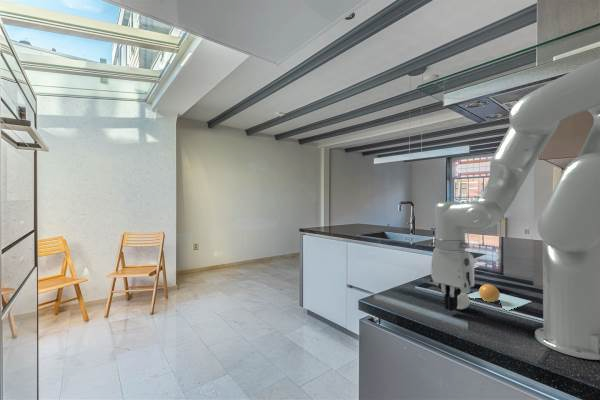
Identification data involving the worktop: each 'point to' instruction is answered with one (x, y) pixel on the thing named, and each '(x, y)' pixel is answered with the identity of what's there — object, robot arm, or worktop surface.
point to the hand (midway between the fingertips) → (450, 308)
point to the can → (472, 267)
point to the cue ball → (463, 301)
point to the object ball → (489, 293)
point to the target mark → (505, 300)
